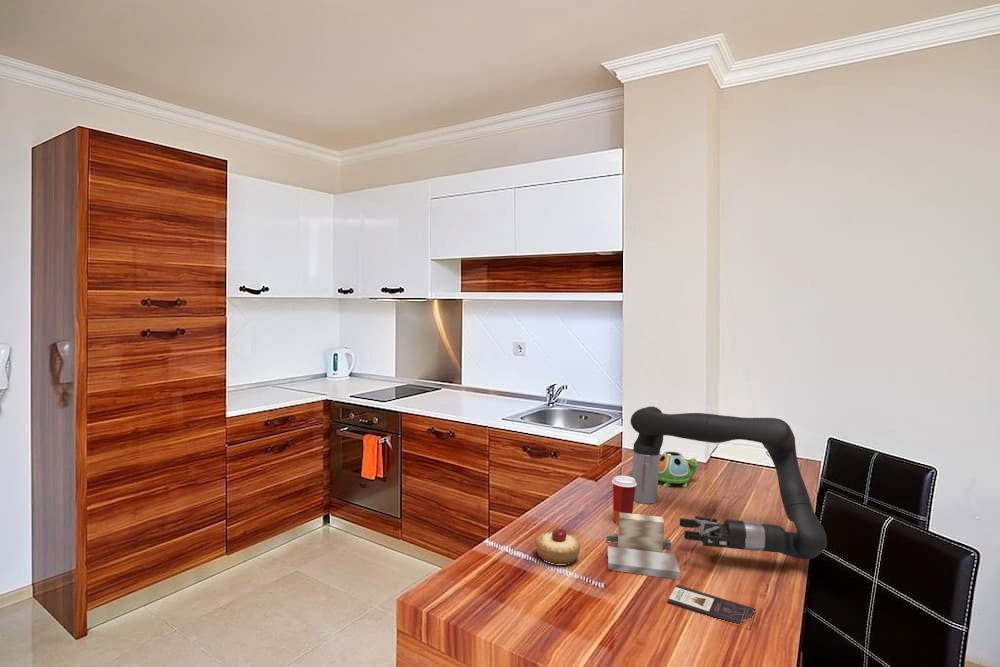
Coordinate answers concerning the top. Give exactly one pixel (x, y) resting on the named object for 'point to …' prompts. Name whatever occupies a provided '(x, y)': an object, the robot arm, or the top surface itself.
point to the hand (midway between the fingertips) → (682, 528)
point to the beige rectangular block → (641, 532)
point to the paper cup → (623, 495)
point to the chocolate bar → (710, 605)
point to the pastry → (557, 547)
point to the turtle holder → (675, 468)
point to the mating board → (643, 560)
